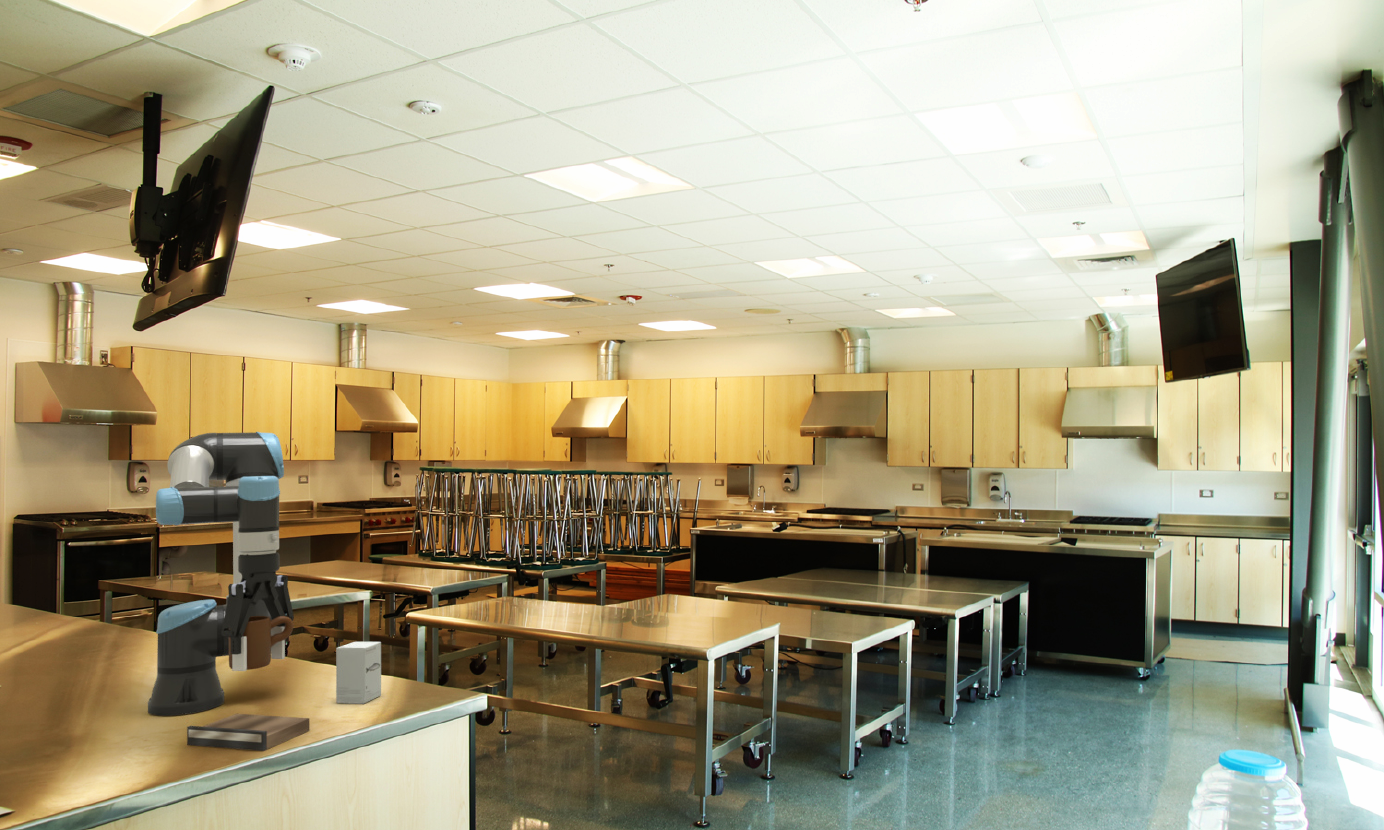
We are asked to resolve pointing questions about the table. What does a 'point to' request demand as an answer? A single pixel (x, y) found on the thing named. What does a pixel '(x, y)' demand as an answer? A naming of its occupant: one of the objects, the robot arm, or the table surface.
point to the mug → (262, 639)
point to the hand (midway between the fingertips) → (259, 664)
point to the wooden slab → (247, 732)
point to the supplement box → (358, 672)
